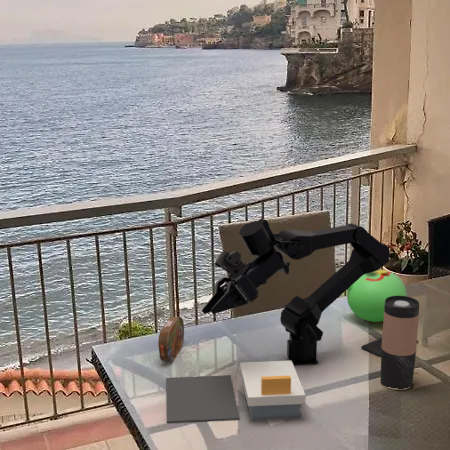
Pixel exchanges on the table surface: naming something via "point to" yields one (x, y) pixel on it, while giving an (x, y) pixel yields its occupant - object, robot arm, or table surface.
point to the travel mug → (399, 341)
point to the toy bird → (374, 294)
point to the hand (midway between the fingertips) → (207, 312)
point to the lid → (271, 383)
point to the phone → (374, 347)
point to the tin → (171, 339)
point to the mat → (200, 399)
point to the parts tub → (274, 412)
